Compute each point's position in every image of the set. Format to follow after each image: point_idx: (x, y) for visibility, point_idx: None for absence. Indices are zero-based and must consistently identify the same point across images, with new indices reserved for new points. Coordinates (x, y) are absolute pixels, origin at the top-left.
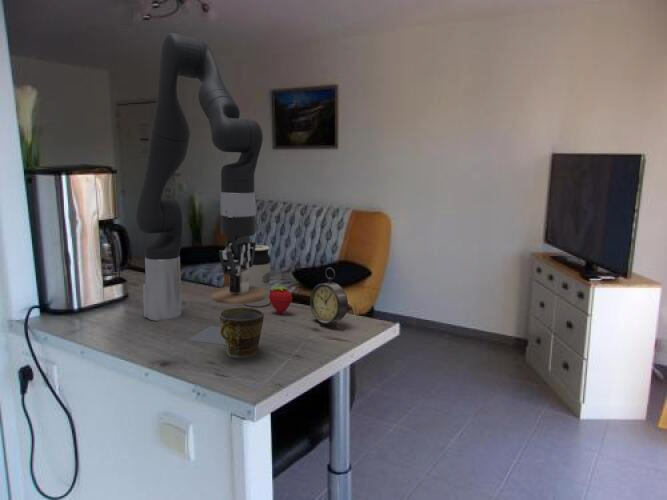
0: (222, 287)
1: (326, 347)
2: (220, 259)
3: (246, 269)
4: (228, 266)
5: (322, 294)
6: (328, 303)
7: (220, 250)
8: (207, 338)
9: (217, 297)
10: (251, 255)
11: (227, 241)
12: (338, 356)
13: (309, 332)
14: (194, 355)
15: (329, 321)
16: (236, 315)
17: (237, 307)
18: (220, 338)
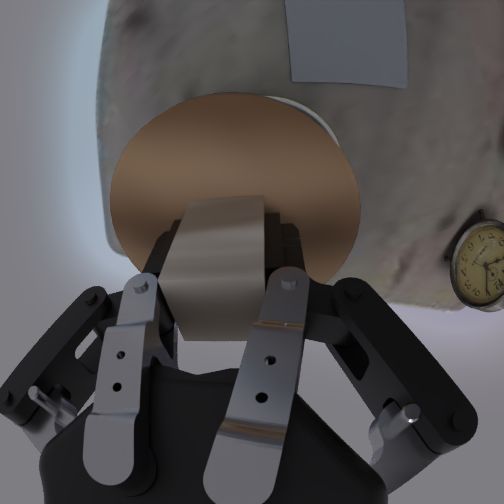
0: (277, 105)
1: (360, 266)
2: (21, 363)
3: None
4: (119, 322)
5: (501, 268)
6: (480, 271)
7: (1, 412)
8: (314, 10)
9: (110, 195)
10: (359, 392)
11: (45, 488)
12: None
13: (432, 216)
14: (207, 36)
15: (455, 253)
16: (313, 119)
17: (325, 127)
18: (329, 40)
